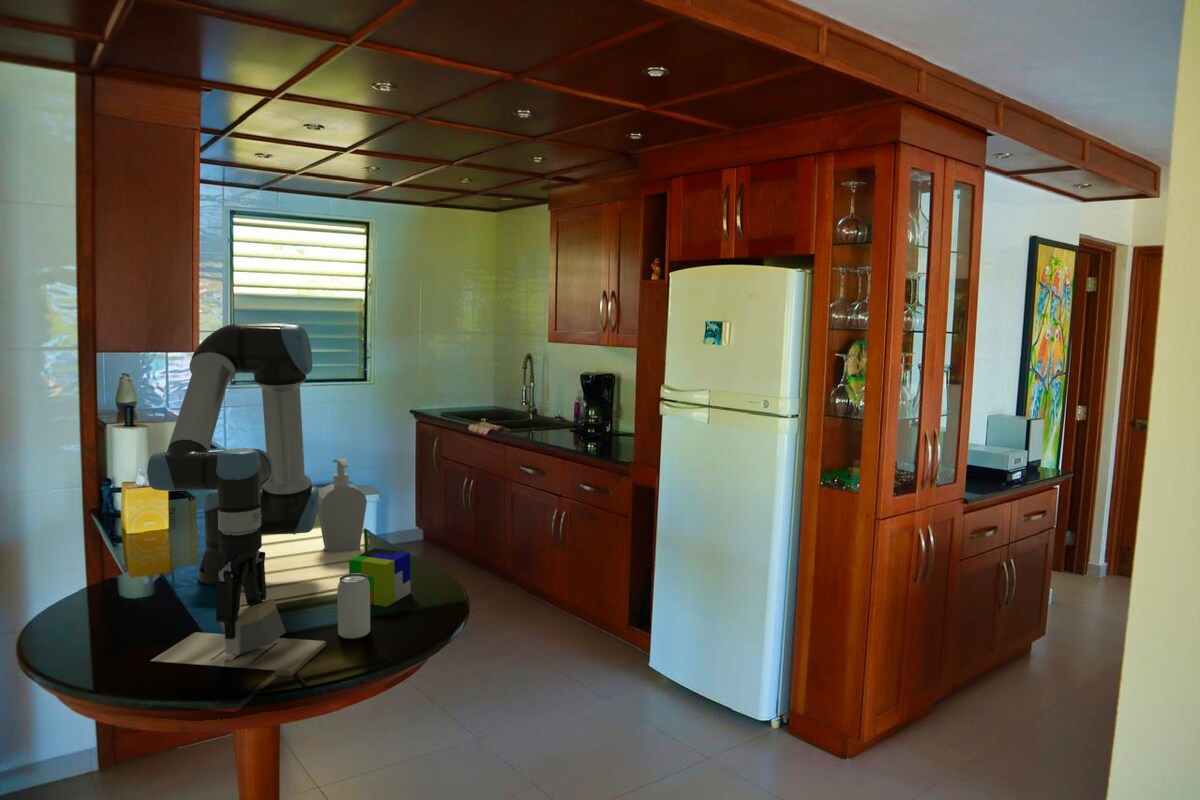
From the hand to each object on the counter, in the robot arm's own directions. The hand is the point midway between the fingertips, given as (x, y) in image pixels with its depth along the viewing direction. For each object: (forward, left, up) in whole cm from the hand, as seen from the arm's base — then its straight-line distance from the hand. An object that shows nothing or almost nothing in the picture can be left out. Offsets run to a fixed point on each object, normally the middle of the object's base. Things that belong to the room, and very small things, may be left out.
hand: (243, 646), depth 158 cm
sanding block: (+3, 0, +1) cm, 4 cm away
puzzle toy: (+13, +36, -2) cm, 39 cm away
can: (+16, +14, -2) cm, 22 cm away
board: (-1, 0, -2) cm, 2 cm away
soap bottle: (-12, +71, -2) cm, 72 cm away
